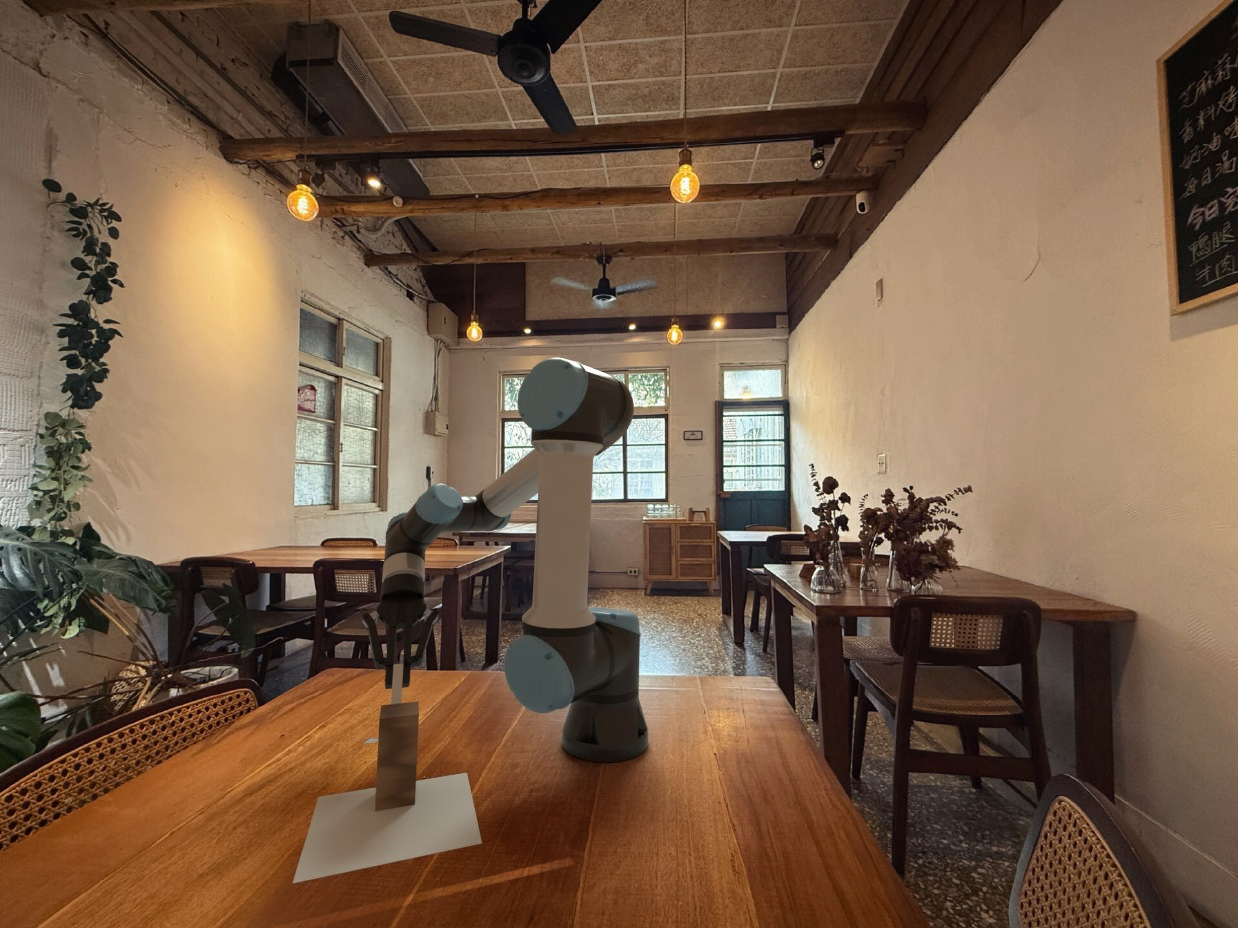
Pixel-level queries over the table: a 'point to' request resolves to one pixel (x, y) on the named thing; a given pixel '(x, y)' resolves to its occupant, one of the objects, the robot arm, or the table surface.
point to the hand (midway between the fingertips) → (396, 706)
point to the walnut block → (397, 756)
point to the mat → (387, 828)
